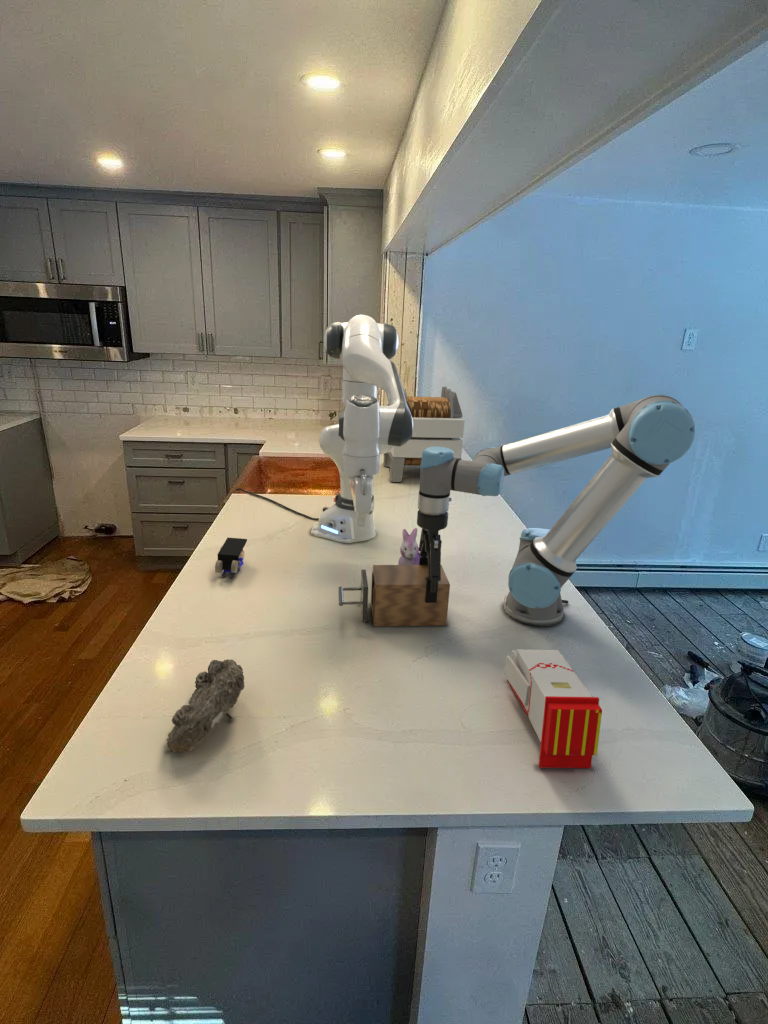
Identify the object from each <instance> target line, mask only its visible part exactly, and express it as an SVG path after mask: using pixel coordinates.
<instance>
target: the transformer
mask: <svg viewBox="0 0 768 1024" xmlns="http://www.w3.org/2000/svg"><path fill="white" fill-rule="evenodd" d="M403 392H404V396H405V399H406V403H407V406H408V408H409V410H410V413H411V416H412V419H413V433H412V437H411V439H410V440H409V441H408V442H406V443H405V444H404V445H402V446H401V447H399V446H394V447H393V449H392V450H391V451H390V452H388V453H384V454H383V466H384V467H388V468H389V475H388V476H389V477H388V478H389V480H390V482H391V483H402V482H403V475H404V469H405V466H406V467H407V466H411V467H412V466H413V467H415V466H416V467H417V466H418V467H420V466H421V460H422V453H423V451H424V450H425V449H426V448H428V447H445V448H449V449H451V450H452V451H453V453H454V458H455V459H460V460H463V459H462V453H463V442H464V441H463V440H462V439H463V438H464V431H465V430H464V429H465V419H464V418H463V411H462V408H461V405H460V402H459V398H458V395H457V392H455V391H453V390H452V389H451V388H447V386H442V387H441V392H440V393H441V394H440V396H415V395H414V396H413V395H412V396H411V395H407V394H408V393H407V390H406V389H404V388H403ZM386 406H389V402H388V404H387V405H386Z"/></svg>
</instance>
